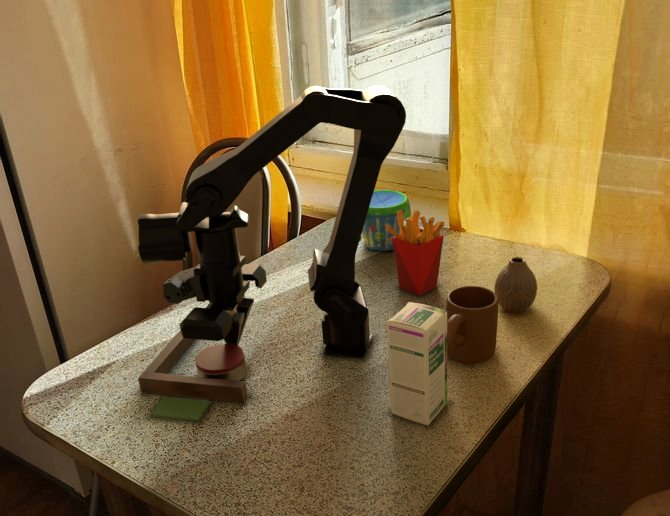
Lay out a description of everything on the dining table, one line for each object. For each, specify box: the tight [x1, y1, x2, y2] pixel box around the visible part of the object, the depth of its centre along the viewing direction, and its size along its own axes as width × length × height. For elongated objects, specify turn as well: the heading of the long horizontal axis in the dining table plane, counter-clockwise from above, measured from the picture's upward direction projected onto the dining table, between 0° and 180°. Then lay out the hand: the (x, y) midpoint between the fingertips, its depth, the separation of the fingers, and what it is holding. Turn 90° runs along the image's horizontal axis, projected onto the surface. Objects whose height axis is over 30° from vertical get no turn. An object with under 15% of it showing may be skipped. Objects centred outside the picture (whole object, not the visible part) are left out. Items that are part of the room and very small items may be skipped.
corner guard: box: [137, 330, 248, 403], centre depth 101 cm, size 16×17×2 cm
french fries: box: [385, 209, 445, 296], centre depth 116 cm, size 9×8×15 cm
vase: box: [493, 256, 538, 314], centre depth 111 cm, size 7×7×9 cm
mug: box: [445, 285, 499, 365], centre depth 98 cm, size 12×8×9 cm, turn 148°
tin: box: [194, 343, 248, 381], centre depth 98 cm, size 7×7×3 cm
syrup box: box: [386, 301, 448, 427], centre depth 86 cm, size 6×6×14 cm
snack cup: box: [359, 189, 412, 252], centre depth 136 cm, size 16×10×10 cm
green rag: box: [150, 396, 211, 422], centre depth 92 cm, size 7×4×1 cm, turn 78°
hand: (233, 348), depth 102 cm, fingers closed
